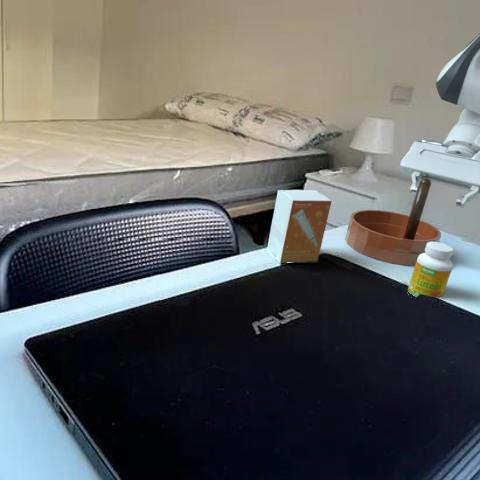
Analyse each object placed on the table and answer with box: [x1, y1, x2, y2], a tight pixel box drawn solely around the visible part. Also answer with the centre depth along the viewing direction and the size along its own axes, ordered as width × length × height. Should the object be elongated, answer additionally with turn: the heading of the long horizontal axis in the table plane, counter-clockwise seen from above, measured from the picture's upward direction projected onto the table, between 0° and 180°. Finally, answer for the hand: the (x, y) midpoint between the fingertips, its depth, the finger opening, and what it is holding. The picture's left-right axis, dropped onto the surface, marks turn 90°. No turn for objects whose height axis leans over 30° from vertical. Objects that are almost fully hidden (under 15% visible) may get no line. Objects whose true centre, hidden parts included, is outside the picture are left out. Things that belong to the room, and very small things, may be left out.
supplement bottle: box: [407, 241, 454, 298], centre depth 85 cm, size 5×5×10 cm
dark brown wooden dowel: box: [403, 178, 432, 240], centre depth 99 cm, size 5×5×16 cm
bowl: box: [344, 209, 442, 267], centre depth 104 cm, size 17×17×6 cm
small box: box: [266, 189, 332, 264], centre depth 95 cm, size 8×6×13 cm
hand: (435, 198), depth 105 cm, fingers open, 8 cm apart
